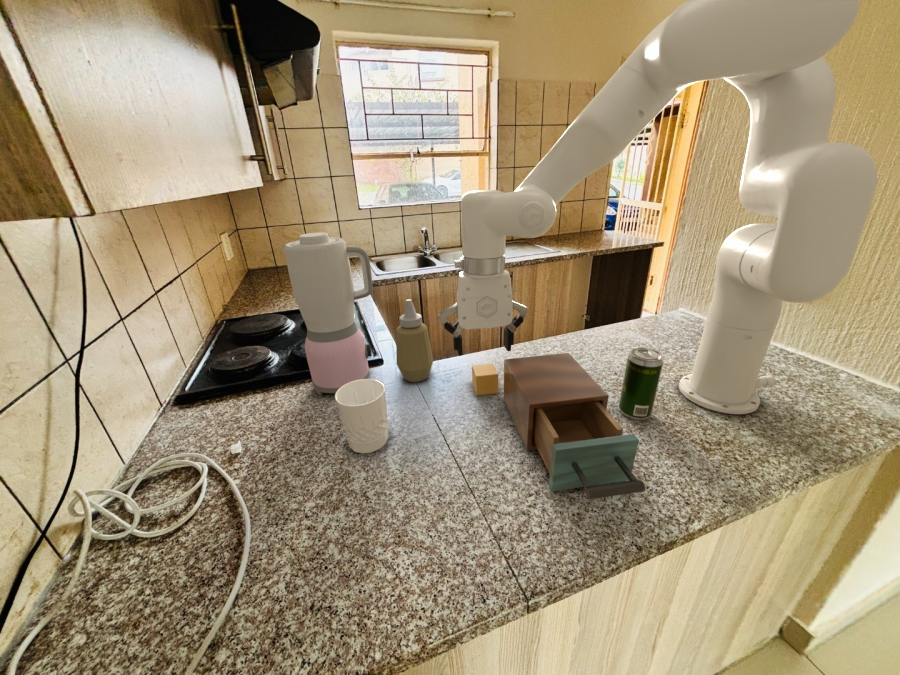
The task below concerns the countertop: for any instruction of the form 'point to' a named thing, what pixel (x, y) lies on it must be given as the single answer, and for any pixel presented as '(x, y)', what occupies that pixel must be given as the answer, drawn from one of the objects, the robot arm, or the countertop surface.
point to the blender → (329, 308)
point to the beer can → (640, 383)
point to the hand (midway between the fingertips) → (483, 350)
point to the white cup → (363, 414)
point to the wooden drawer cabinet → (545, 388)
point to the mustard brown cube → (484, 379)
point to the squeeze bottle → (413, 346)
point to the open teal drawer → (586, 449)
